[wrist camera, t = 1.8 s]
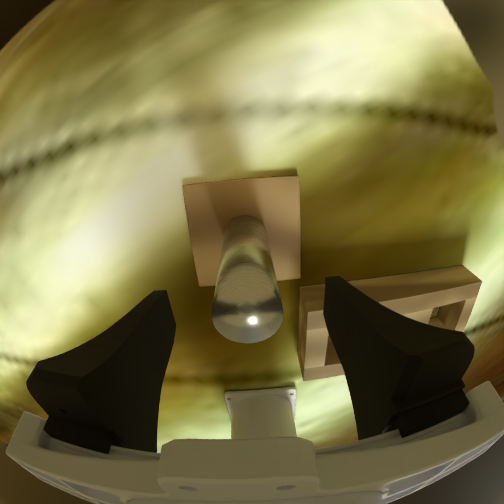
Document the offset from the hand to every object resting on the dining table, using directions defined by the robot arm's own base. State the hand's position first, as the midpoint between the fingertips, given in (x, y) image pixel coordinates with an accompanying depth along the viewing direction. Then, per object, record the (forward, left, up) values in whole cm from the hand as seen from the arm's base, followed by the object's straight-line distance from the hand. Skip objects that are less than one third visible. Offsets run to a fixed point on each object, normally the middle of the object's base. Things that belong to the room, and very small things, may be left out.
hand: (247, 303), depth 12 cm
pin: (0, 0, -9) cm, 9 cm away
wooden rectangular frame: (-9, -13, -9) cm, 18 cm away
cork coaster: (0, 0, -9) cm, 9 cm away
